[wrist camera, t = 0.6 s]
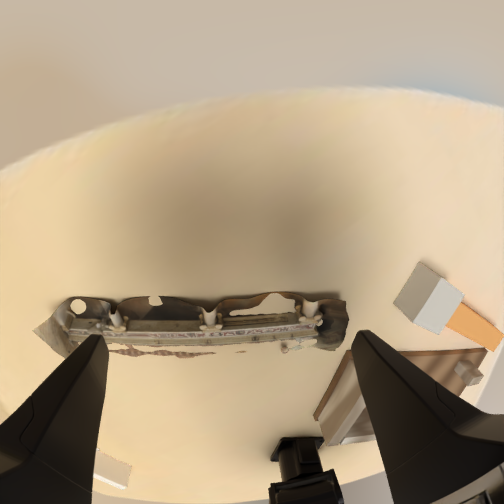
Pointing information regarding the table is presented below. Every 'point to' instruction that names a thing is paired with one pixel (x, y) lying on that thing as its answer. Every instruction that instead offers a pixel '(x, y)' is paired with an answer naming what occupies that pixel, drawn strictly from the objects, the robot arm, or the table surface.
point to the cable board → (352, 403)
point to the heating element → (193, 324)
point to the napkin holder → (111, 470)
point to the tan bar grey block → (443, 308)
